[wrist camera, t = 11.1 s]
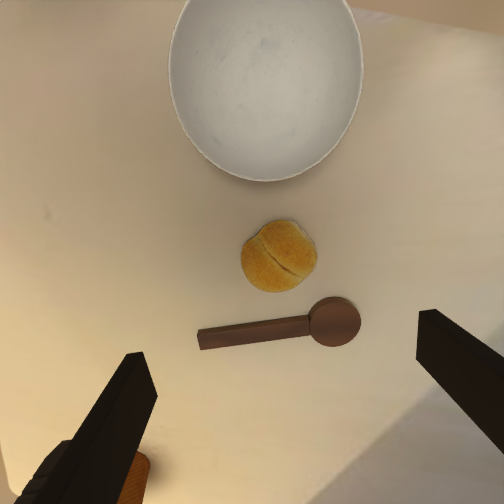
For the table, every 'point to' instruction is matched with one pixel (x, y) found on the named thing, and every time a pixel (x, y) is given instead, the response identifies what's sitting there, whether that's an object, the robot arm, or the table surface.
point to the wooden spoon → (292, 327)
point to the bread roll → (278, 256)
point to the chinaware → (265, 82)
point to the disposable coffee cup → (135, 481)
